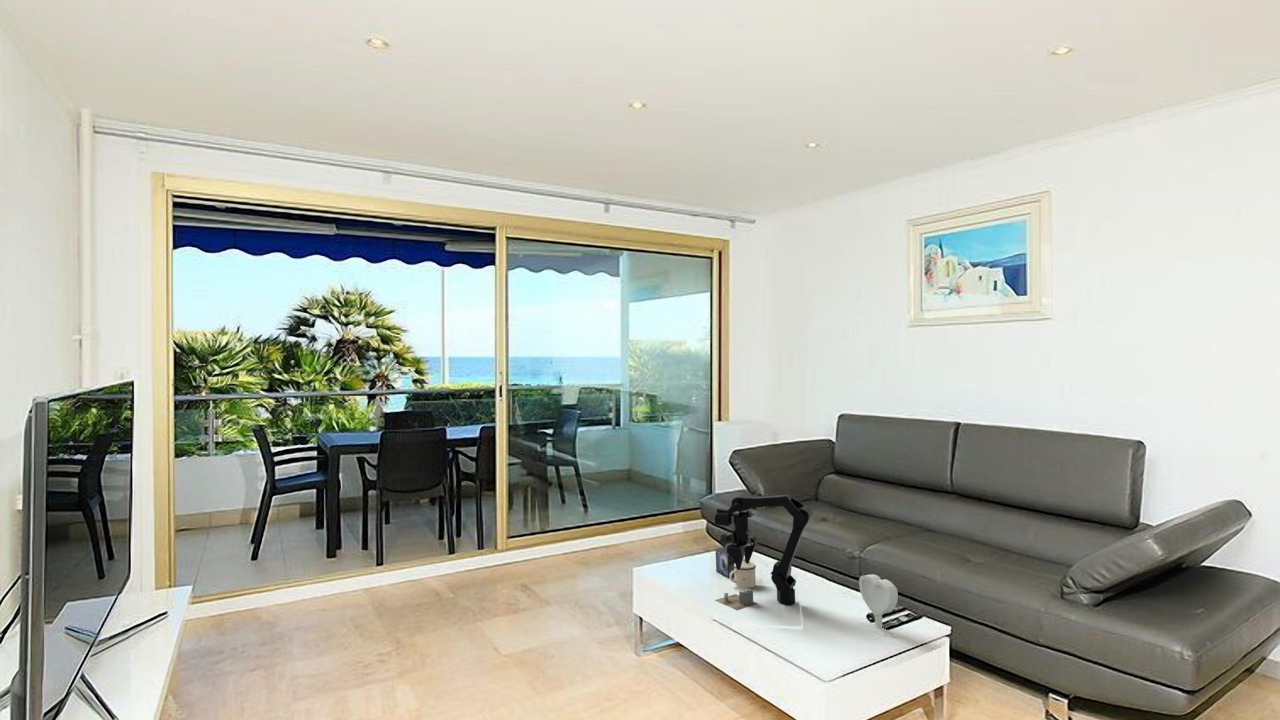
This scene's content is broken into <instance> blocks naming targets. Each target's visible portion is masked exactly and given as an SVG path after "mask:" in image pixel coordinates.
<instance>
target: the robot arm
mask: <svg viewBox="0 0 1280 720" xmlns="http://www.w3.org/2000/svg"><path fill="white" fill-rule="evenodd" d="M768 507H770V508H771V507H783V508H784V509H785V510H786V511H787V513H789V514H790V516H792V517H793V520H792V530H791V533H790V535H789V538H788V541H787V544H786V546H785V549H784V552H783V555H781V556H782V557H781V559H780V560H777V561H776V562H775V563H774V564H773V567H772V571H771V572H770V575H771V576H770V578H771V581H772V583H773V584H774V586H775V588H776V598H777V600H776V601H777V602H778V603H779V604H780V605H784V606H788V607H789V606H793V605H795V604H796V589H795V588H794V587H795V586H796V583H797V580H796V578H794V576H793V575H791V574H792V563H793V560H794V558H795V555H796V552H797V551H798V548H799V547H798V546H799V544H800V542H801V539H802V536H803V534H804V531H805V530H806V528H807V527H808V525H809V524H810V522H811V520H812V519H813V517H814V512H813V510H812V508H811V507H809V506H807V505H804V504H803V503H802V502H800V501H798V500H797V499H795V498H794V497H793V496H792V495H790V494H788V493H785V494H780V495H778V494H777V495H765V496H763V495H762V496H753V495H749V494H738V495H737V496H736V497H734V498H733V499H732V501H731V505H730V507H729V508H727V509H726V508H719V507H718V508H717V509H716V513H715V516H714V524H715V525H716V526H719V527H721V526H722V527H731V526H732V525H733V528H734V529H733V530H732V531H731V532H730V533H727V534H726V533H724V534H721V535H720V537H719V539H720V540H719V542H721V544H722V545H723V546H726V545H727V544H730V543H731V544H730V545H728V546H726V547H727V548H726V553H727V554H729V555H731V556H732V557H733V559H734V562H735V565H736V568H737V570H740V568H741V565H742V561H743V558H745V562H746V563H749V561H750V560H751V558H752V556H753V553H754V552H755V549H756V547H757V544H758V538H757V537H756V536H755V535H750V532H751V528H750V527H749V526H750V524H749V518H752V517H754V513H753V512H751V511H750V510H751V509H755V508H768ZM750 562H751V561H750Z"/></svg>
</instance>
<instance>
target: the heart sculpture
mask: <svg viewBox="0 0 1280 720" xmlns="http://www.w3.org/2000/svg"><path fill="white" fill-rule="evenodd" d="M858 583H859V584H858V587H859V592H860V594H861V597H862V600H863V601H864V603H865V604H866V606H867V607H868V609H869V610H870V611H871V613H872V615H873V616H874V623H875V624H872V623H867V622H863V623H862V624H861V626H864V628H867V629H868V630H871V631H873V632H874V633H876V634H878V635H879V636H882V637H884V638H894V637H895V636H897V634H896V633H894V632H892V631H890V630H888V629H887V630H886V628H885V627H883V614H886V613H889V612H891V611H893V610H894V609H895V607H896V606H897V604H898V596H899V594H898V588H897V587H896V585H894V584H893V582H892V581H890V580H888V579H881V577H880V576H879V575H877V574H866V575H861V576H860V577H859V580H858ZM882 627H883V628H882ZM884 628H885V629H884ZM894 635H895V636H894Z"/></svg>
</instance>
